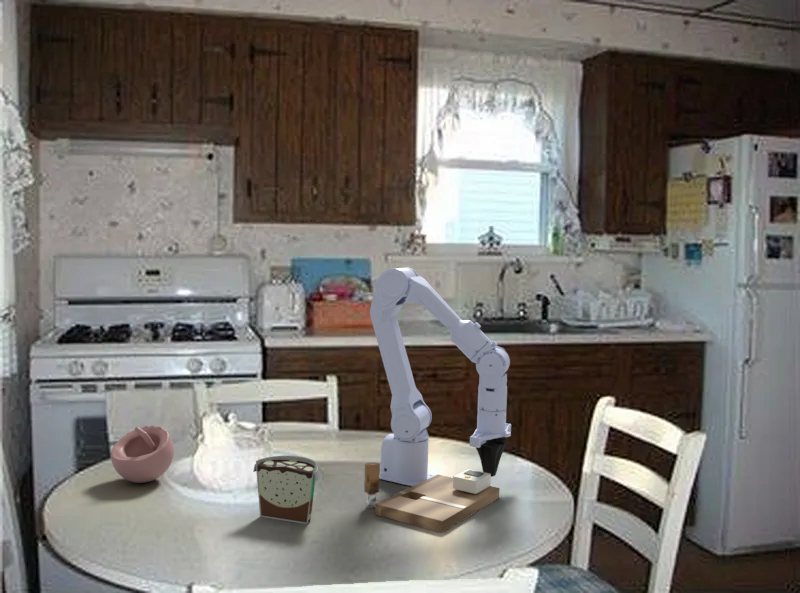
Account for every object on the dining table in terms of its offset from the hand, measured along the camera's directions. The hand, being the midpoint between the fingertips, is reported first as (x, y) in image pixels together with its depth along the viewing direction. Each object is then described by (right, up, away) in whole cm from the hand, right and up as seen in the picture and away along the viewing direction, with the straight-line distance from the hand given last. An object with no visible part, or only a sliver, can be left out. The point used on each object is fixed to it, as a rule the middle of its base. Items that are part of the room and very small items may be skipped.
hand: (489, 475), depth 155 cm
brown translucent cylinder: (-23, -3, -12) cm, 26 cm away
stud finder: (-4, -1, -6) cm, 8 cm away
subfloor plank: (-11, -3, -10) cm, 15 cm away
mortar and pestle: (-70, -1, 0) cm, 70 cm away
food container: (-37, -3, -17) cm, 41 cm away
